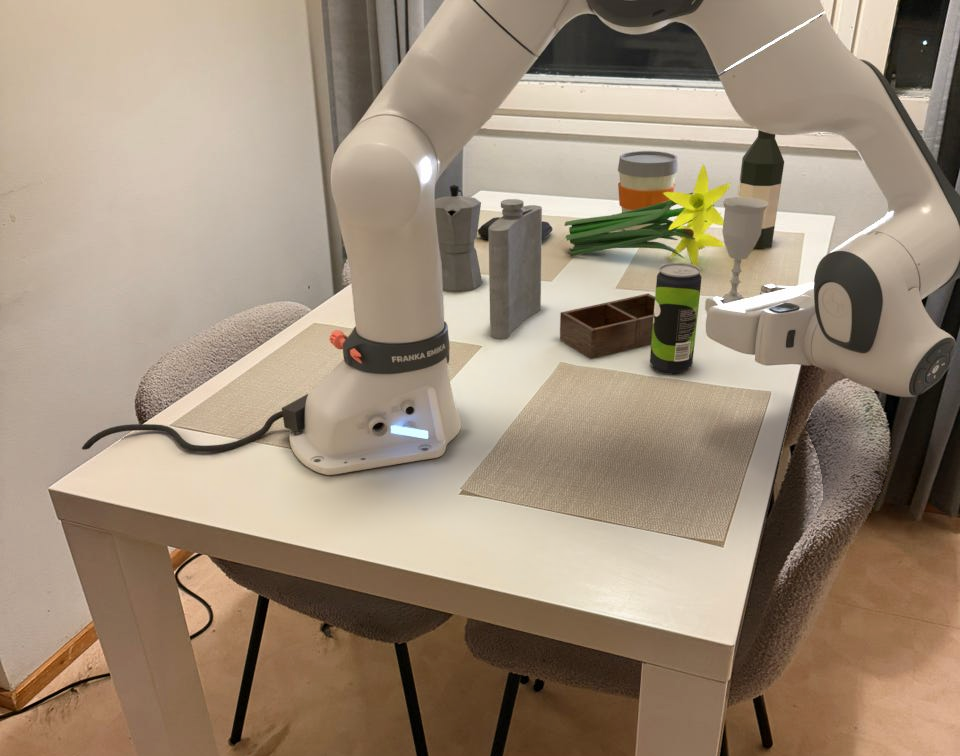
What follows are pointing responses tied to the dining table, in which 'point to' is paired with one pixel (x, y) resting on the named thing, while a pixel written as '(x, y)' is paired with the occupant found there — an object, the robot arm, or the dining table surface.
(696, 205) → the daffodil flowers
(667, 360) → the beverage can
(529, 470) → the dining table surface
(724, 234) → the chalice
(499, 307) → the hip flask
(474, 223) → the coffeepot
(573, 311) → the divided box
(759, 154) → the wine bottle
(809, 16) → the robot arm
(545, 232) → the carrying case
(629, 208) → the reusable coffee cup
